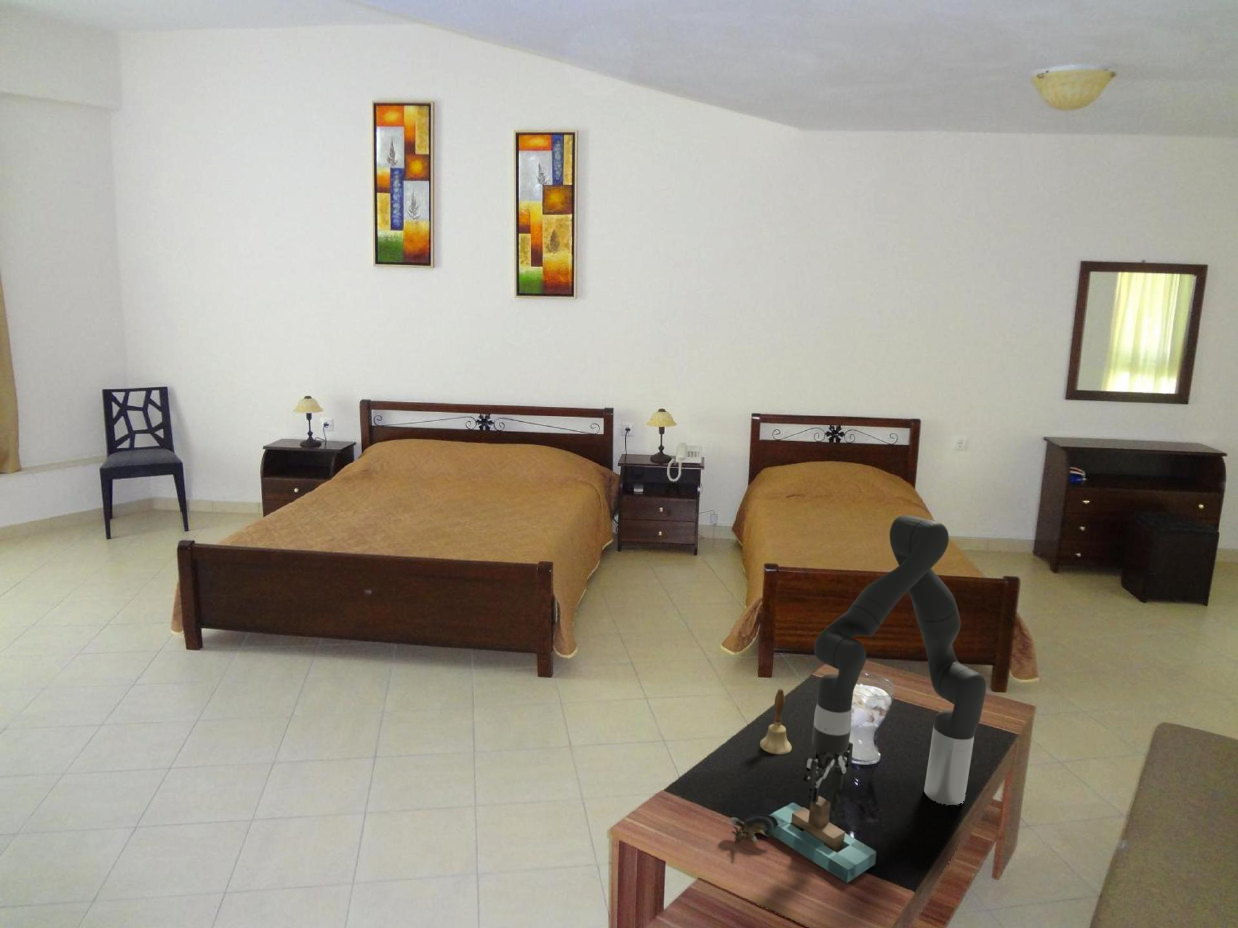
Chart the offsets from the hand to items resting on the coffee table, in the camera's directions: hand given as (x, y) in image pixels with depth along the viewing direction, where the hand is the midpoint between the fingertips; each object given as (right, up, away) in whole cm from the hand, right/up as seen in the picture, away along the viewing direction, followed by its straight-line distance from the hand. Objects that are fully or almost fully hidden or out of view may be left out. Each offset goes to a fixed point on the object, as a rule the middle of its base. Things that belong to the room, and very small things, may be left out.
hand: (824, 794), depth 188 cm
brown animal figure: (-15, -11, +4) cm, 19 cm away
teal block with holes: (-1, -12, +3) cm, 13 cm away
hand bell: (-3, -4, +44) cm, 44 cm away
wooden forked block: (-1, -12, +3) cm, 13 cm away
